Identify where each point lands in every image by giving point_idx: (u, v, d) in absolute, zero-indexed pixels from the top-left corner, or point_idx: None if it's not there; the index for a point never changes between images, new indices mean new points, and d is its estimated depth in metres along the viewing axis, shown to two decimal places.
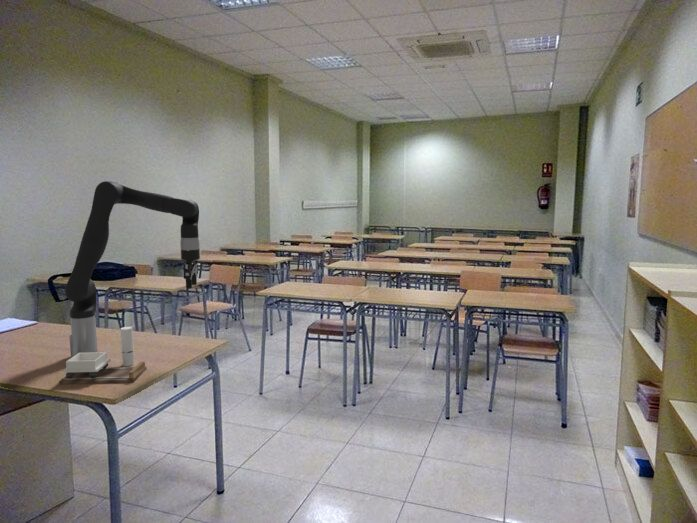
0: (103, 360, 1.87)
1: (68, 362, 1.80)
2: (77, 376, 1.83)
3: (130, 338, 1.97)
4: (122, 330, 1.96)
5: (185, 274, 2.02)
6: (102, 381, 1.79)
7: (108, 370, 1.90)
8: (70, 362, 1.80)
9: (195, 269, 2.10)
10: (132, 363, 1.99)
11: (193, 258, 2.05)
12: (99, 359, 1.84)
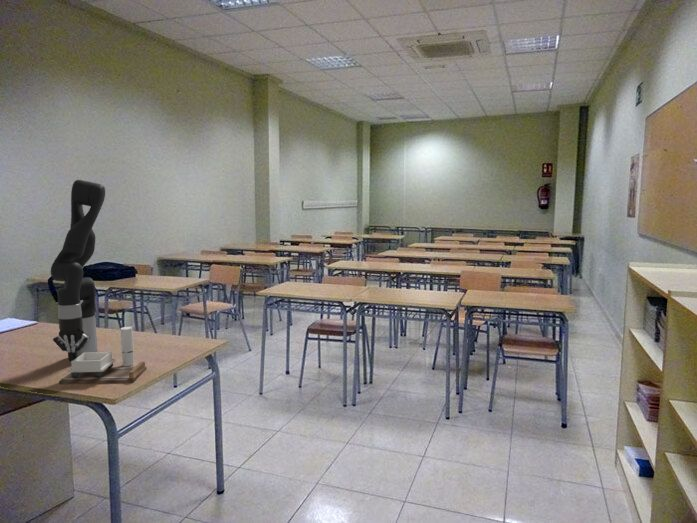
0: (108, 360, 1.87)
1: (73, 362, 1.80)
2: None
3: (130, 338, 1.97)
4: (122, 330, 1.96)
5: None
6: (102, 381, 1.79)
7: (108, 370, 1.90)
8: (75, 362, 1.80)
9: None
10: (132, 363, 1.99)
11: (82, 324, 1.85)
12: (104, 359, 1.84)
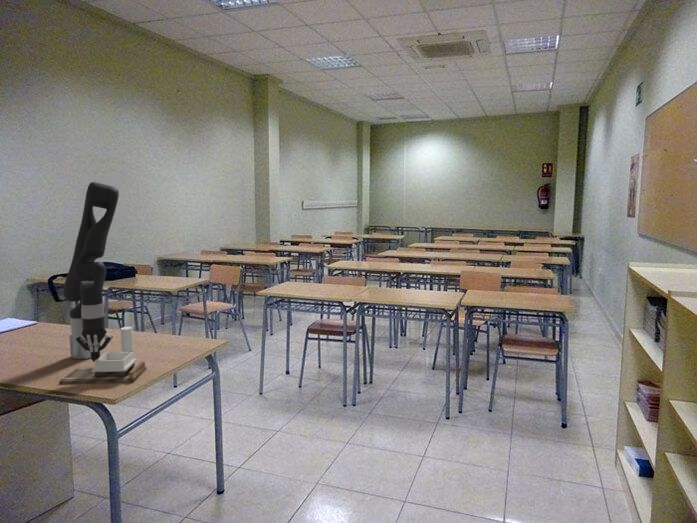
0: (130, 359, 1.88)
1: (97, 361, 1.80)
2: (77, 376, 1.83)
3: (130, 338, 1.97)
4: (122, 330, 1.96)
5: (102, 345, 1.84)
6: (102, 381, 1.79)
7: None
8: (99, 361, 1.80)
9: None
10: None
11: None
12: (127, 358, 1.85)
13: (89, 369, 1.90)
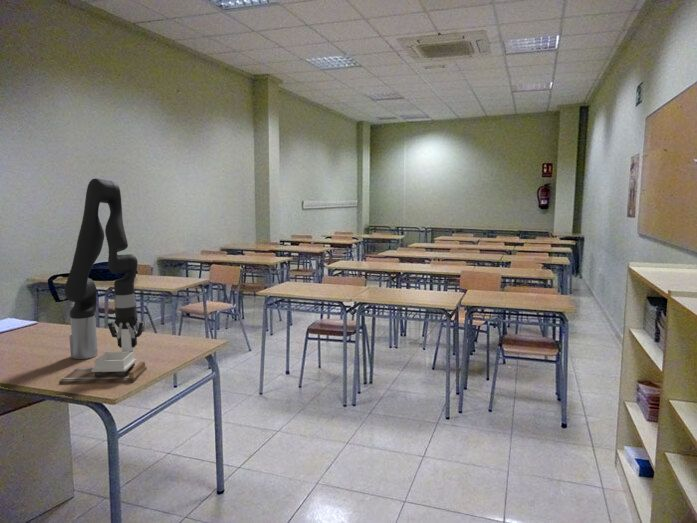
0: (130, 359, 1.88)
1: (97, 361, 1.80)
2: (77, 376, 1.83)
3: (130, 338, 1.97)
4: (122, 330, 1.96)
5: None
6: (102, 381, 1.79)
7: None
8: (99, 361, 1.80)
9: None
10: None
11: None
12: (127, 358, 1.85)
13: (89, 369, 1.90)
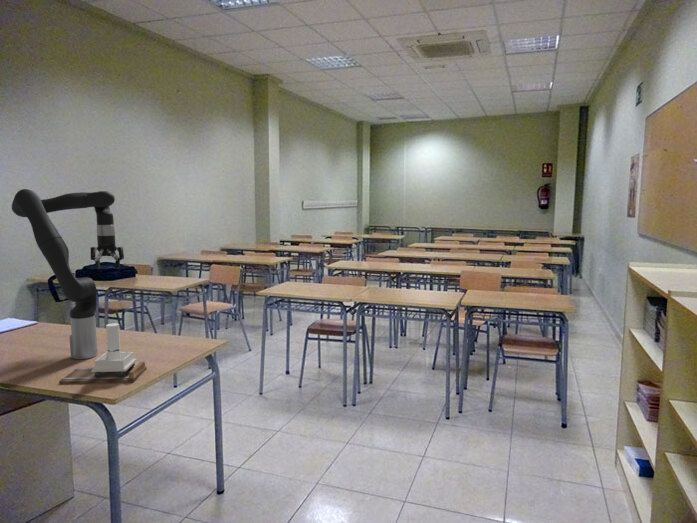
0: (130, 359, 1.88)
1: (97, 361, 1.80)
2: (77, 376, 1.83)
3: (117, 335, 1.84)
4: (108, 327, 1.82)
5: None
6: (102, 381, 1.79)
7: None
8: (99, 361, 1.80)
9: None
10: None
11: None
12: (127, 358, 1.85)
13: (89, 369, 1.90)
